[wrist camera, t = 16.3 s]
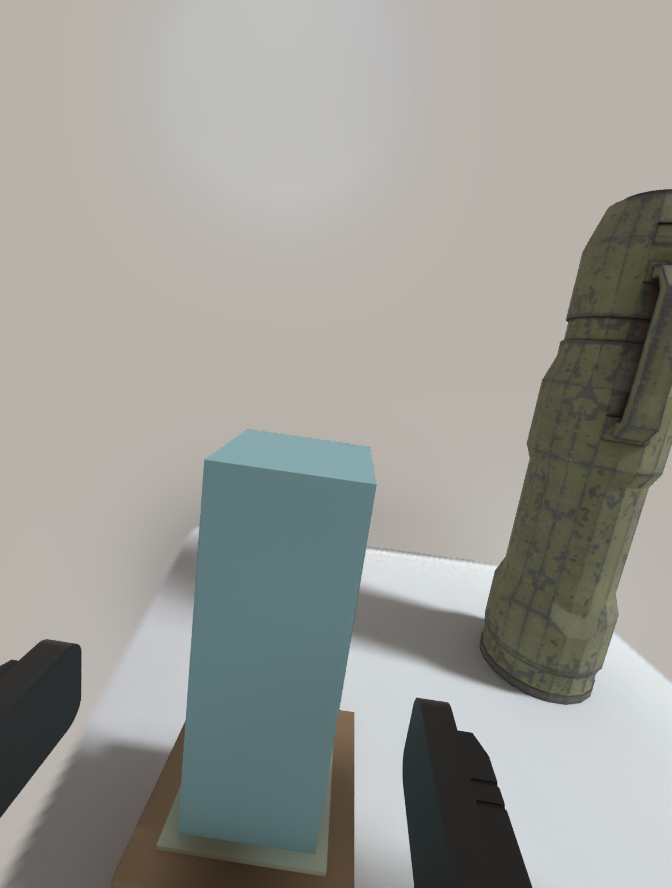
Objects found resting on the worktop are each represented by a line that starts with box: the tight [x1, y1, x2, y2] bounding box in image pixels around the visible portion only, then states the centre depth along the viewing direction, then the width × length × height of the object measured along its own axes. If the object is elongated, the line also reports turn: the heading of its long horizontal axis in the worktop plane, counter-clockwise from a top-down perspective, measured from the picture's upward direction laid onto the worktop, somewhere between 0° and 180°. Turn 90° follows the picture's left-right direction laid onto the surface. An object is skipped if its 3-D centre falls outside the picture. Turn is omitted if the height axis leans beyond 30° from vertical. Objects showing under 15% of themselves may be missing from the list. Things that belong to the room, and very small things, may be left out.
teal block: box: [178, 429, 376, 854], centre depth 16 cm, size 5×5×14 cm
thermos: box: [480, 189, 672, 704], centre depth 31 cm, size 9×12×35 cm
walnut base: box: [111, 710, 354, 888], centre depth 18 cm, size 8×8×5 cm
